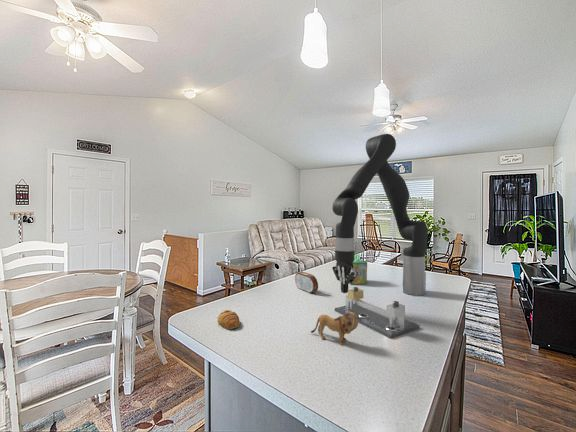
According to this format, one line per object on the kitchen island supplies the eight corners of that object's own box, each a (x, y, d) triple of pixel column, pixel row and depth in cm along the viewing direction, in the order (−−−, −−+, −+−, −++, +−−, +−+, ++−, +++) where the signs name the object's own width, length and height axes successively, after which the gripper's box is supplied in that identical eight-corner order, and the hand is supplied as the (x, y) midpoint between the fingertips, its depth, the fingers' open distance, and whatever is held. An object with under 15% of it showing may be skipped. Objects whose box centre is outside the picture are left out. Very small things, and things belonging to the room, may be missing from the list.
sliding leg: (357, 305, 107) (357, 285, 107) (363, 307, 105) (363, 287, 105) (347, 307, 105) (347, 287, 105) (353, 310, 102) (353, 289, 102)
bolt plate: (361, 304, 113) (361, 301, 113) (419, 328, 91) (419, 324, 91) (334, 310, 106) (334, 307, 106) (390, 338, 84) (390, 334, 84)
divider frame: (352, 304, 110) (352, 284, 110) (407, 328, 88) (407, 302, 88) (342, 306, 108) (342, 285, 107) (396, 331, 86) (397, 305, 86)
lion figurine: (359, 340, 83) (360, 310, 82) (355, 348, 78) (355, 316, 78) (313, 330, 89) (313, 303, 89) (307, 337, 84) (307, 308, 84)
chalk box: (344, 280, 151) (344, 252, 150) (360, 279, 152) (361, 252, 151) (350, 284, 142) (350, 255, 141) (367, 284, 143) (367, 255, 142)
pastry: (244, 327, 92) (244, 316, 92) (225, 332, 89) (225, 321, 88) (233, 318, 100) (233, 307, 100) (215, 322, 96) (215, 311, 96)
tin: (318, 294, 127) (318, 275, 126) (313, 295, 125) (313, 276, 125) (299, 286, 139) (299, 269, 139) (293, 287, 137) (293, 270, 137)
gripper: (364, 250, 106) (363, 295, 106) (340, 246, 117) (340, 287, 118) (349, 252, 102) (348, 298, 102) (326, 247, 113) (326, 289, 114)
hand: (344, 292), depth 110 cm, fingers closed
